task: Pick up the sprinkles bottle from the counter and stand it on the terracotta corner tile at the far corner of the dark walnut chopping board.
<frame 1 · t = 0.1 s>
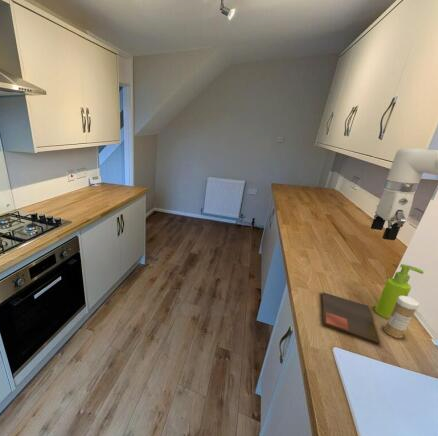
hand: (381, 234, 84), 28 cm above the counter, tool pointing down, fingers open, 9 cm apart
soap dispenser: (387, 314, 86), on the counter
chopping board: (346, 316, 85), on the counter
sprinkles bottle: (392, 333, 78), on the counter
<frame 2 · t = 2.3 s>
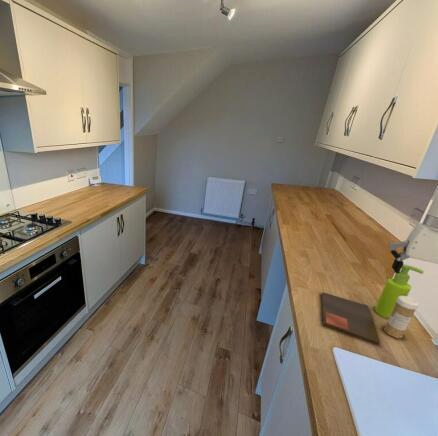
hand: (417, 276, 71), 22 cm above the counter, tool pointing down, fingers open, 9 cm apart
nothing on the counter moved.
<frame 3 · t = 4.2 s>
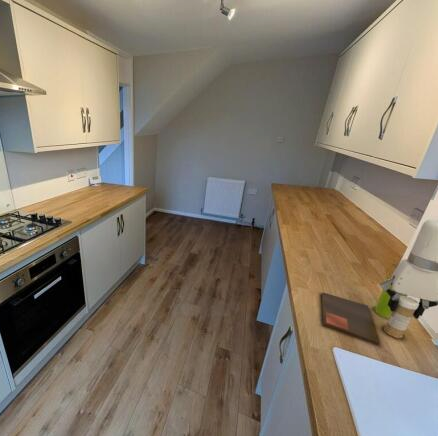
hand: (403, 311, 75), 9 cm above the counter, tool pointing down, fingers closed on sprinkles bottle, 4 cm apart
sprinkles bottle: (392, 333, 78), on the counter, touching gripper
everything else where it was.
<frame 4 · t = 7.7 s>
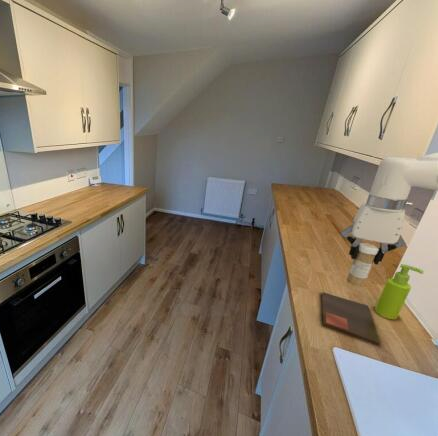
hand: (363, 259, 72), 25 cm above the counter, tool pointing down, fingers closed on sprinkles bottle, 4 cm apart
sprinkles bottle: (354, 283, 75), point 16 cm above the counter, touching gripper
everything else where it was.
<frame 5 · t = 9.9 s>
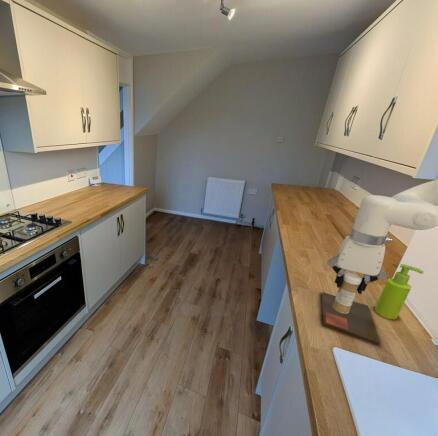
hand: (348, 288, 76), 15 cm above the counter, tool pointing down, fingers closed on sprinkles bottle, 4 cm apart
sprinkles bottle: (340, 310, 79), point 6 cm above the counter, touching gripper
everything else where it was.
when the fingers open (10 cm above the counter, at t = 11.4 s): sprinkles bottle stays where it is, resting on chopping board.
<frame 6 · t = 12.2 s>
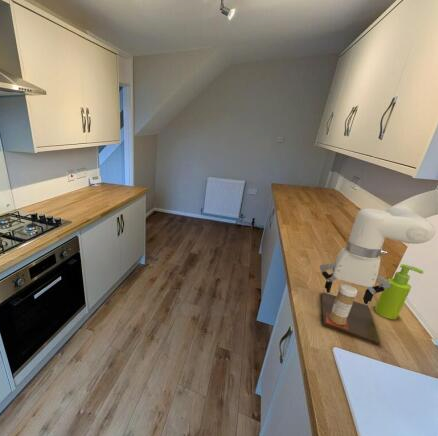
hand: (345, 296, 77), 12 cm above the counter, tool pointing down, fingers open, 9 cm apart
sprinkles bottle: (336, 321, 81), point 1 cm above the counter, touching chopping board
everything else where it was.
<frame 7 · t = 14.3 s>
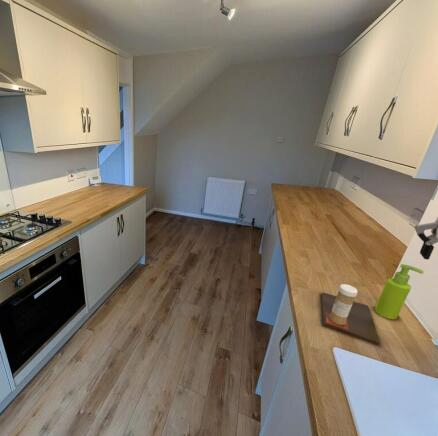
nothing on the counter moved.
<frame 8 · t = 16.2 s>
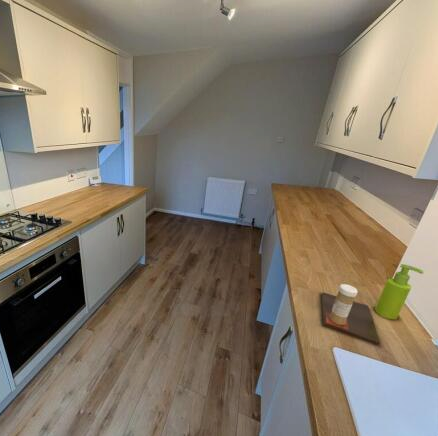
nothing on the counter moved.
at the end: sprinkles bottle 0.1 cm from the target spot on the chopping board, point 1.2 cm above the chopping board's base; sprinkles bottle tilted 0°; the gripper is holding nothing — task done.
